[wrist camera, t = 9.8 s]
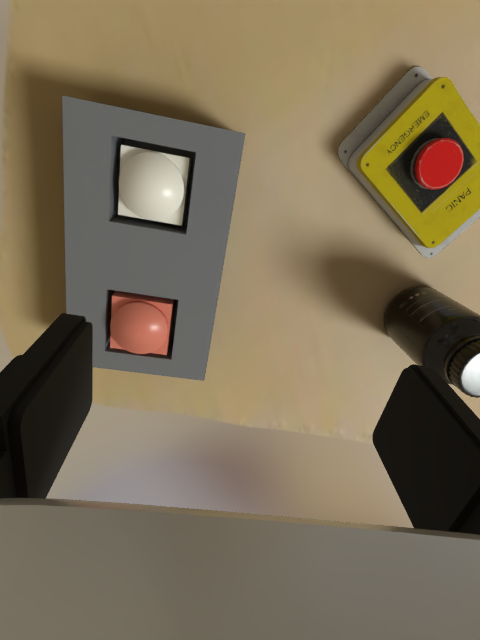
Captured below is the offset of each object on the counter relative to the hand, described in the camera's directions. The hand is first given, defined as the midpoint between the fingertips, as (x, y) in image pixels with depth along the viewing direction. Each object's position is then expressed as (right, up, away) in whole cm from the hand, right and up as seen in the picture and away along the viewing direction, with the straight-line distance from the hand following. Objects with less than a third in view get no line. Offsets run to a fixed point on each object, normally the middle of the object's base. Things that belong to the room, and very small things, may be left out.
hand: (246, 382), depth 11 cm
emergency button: (+17, +16, +23) cm, 32 cm away
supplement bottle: (+19, +3, +28) cm, 34 cm away
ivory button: (-7, +14, +20) cm, 25 cm away
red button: (-9, +2, +24) cm, 26 cm away
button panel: (-8, +9, +24) cm, 27 cm away
